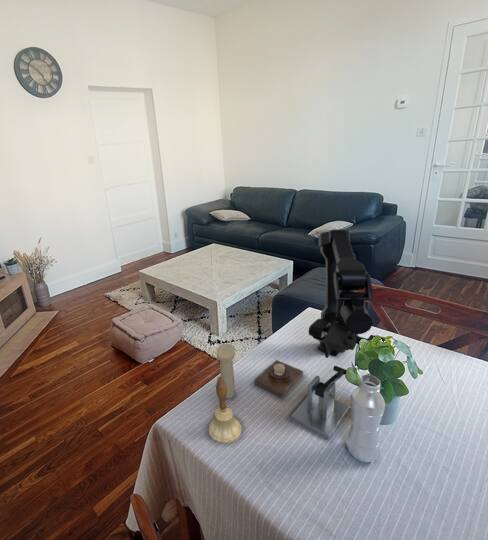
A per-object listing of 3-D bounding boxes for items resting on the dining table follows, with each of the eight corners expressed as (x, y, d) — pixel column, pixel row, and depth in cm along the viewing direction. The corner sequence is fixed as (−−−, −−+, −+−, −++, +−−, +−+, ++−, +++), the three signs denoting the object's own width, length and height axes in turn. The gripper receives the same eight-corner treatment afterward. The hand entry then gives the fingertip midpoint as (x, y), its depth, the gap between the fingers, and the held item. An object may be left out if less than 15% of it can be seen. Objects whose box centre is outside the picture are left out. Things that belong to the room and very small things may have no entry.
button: (277, 367, 100) (277, 362, 100) (286, 371, 98) (286, 366, 98) (271, 372, 98) (271, 367, 98) (281, 377, 96) (281, 372, 96)
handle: (237, 387, 98) (234, 343, 93) (236, 403, 92) (234, 357, 87) (220, 387, 99) (217, 343, 94) (219, 403, 93) (215, 357, 88)
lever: (334, 370, 96) (335, 363, 95) (352, 378, 93) (353, 370, 92) (309, 391, 84) (310, 383, 84) (328, 400, 81) (329, 391, 80)
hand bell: (232, 448, 79) (228, 394, 73) (202, 435, 83) (196, 382, 78) (247, 423, 85) (244, 372, 80) (218, 412, 90) (214, 362, 84)
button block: (276, 364, 106) (276, 355, 105) (303, 376, 100) (303, 366, 99) (254, 385, 99) (254, 375, 97) (282, 398, 93) (282, 388, 91)
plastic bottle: (365, 472, 71) (374, 396, 64) (339, 449, 76) (345, 377, 69) (385, 458, 73) (396, 384, 66) (358, 436, 79) (366, 366, 72)
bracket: (312, 393, 94) (313, 364, 90) (349, 410, 87) (352, 379, 83) (290, 419, 86) (291, 388, 82) (329, 440, 79) (331, 407, 75)
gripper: (299, 315, 88) (298, 365, 93) (375, 338, 76) (369, 394, 81) (318, 299, 95) (316, 346, 101) (391, 318, 83) (384, 370, 88)
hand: (343, 363), depth 93 cm, fingers open, 9 cm apart
